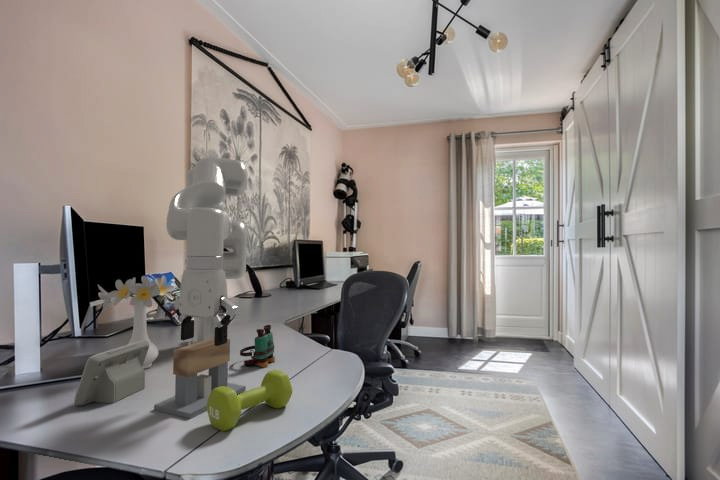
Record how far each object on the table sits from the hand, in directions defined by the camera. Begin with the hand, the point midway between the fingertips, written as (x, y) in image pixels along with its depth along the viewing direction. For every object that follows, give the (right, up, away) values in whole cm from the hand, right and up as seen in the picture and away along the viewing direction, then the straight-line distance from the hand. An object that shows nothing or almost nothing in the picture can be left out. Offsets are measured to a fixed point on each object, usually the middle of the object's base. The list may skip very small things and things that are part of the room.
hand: (203, 341), depth 84 cm
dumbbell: (+13, -13, -8) cm, 20 cm away
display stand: (0, -12, -1) cm, 12 cm away
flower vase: (-27, -13, +20) cm, 36 cm away
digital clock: (-21, -13, +2) cm, 25 cm away
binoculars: (+5, -13, +25) cm, 29 cm away
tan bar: (0, -5, -1) cm, 5 cm away
